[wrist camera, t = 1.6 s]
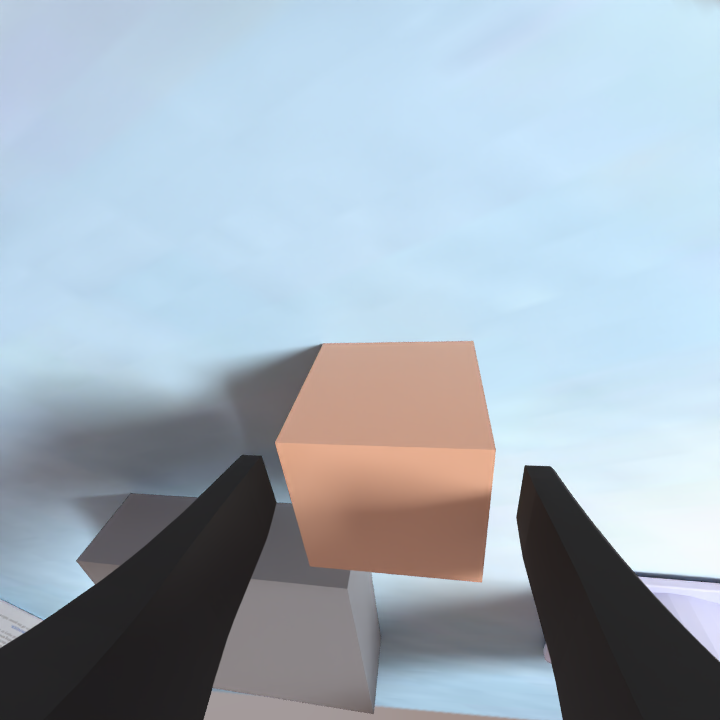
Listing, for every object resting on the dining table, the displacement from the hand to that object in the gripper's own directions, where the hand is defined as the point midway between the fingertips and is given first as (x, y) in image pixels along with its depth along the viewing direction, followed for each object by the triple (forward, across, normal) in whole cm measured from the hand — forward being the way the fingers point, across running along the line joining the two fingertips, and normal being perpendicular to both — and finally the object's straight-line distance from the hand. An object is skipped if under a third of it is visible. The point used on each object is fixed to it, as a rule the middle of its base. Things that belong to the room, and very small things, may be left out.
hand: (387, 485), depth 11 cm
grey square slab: (+4, +8, +12) cm, 15 cm away
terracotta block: (+4, 0, 0) cm, 4 cm away
